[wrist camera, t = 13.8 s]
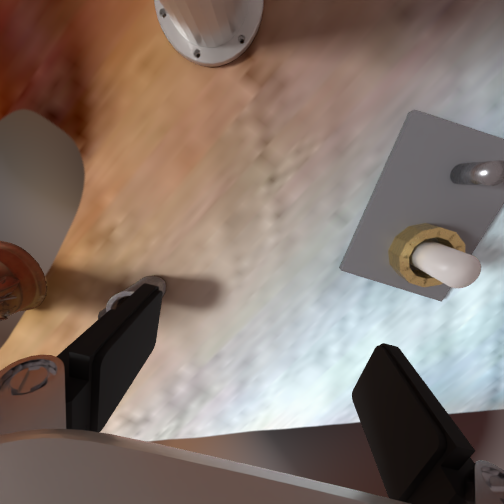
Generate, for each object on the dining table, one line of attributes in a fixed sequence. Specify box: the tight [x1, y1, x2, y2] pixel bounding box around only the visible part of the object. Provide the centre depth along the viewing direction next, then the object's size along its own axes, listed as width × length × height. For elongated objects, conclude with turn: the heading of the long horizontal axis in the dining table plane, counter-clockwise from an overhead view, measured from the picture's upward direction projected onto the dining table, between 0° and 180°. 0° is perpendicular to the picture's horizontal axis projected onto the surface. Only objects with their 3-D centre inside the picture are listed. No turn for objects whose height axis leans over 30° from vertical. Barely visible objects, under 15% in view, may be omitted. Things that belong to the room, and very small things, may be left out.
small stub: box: [450, 160, 504, 186], centre depth 28 cm, size 3×3×5 cm
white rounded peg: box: [409, 239, 481, 288], centre depth 30 cm, size 4×4×8 cm
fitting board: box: [339, 110, 504, 301], centre depth 33 cm, size 22×16×1 cm
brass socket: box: [388, 223, 465, 287], centre depth 32 cm, size 8×8×3 cm
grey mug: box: [98, 276, 166, 319], centre depth 37 cm, size 6×13×8 cm, turn 123°
